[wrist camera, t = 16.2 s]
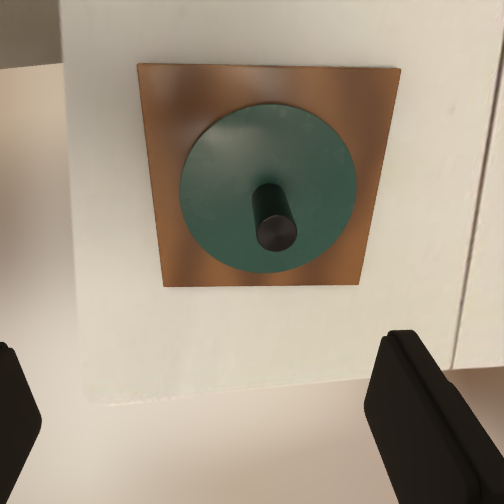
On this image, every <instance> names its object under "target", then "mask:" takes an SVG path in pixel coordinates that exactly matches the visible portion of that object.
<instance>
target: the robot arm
mask: <svg viewBox="0 0 504 504" xmlns="http://www.w3.org/2000/svg"><path fill="white" fill-rule="evenodd" d="M364 412H365V416H366V418H367V421H368V424H369V426H370V429H371V432H372V434H373V437H374V439H375V442H376V444H377V447H378V450H379V452H380V455H381V458H382V460H383V463H384V465H385V468H386V470H387V473H388V476H389V478H390V481H391V484H392V486H393V489H394V491H395V494H396V497H397V499H398V502H399V504H504V458H503V456H502V455H501V453H500V452H499V450H498V449H497V447H496V446H495V444H494V443H493V441H492V440H491V438H490V437H489V435H488V434H487V432H486V431H485V430H484V428H483V427H482V425H481V424H480V422H479V421H478V419H477V418H476V416H475V415H474V413H473V412H472V410H471V409H470V407H469V406H468V404H467V403H466V402H465V400H464V398H463V397H462V395H461V394H460V393H459V391H458V390H457V388H456V387H455V386H454V385H453V384H452V383H451V382H449V381H448V380H447V379H446V377H445V376H444V374H443V373H442V371H441V369H440V368H439V366H438V365H437V363H436V362H435V360H434V359H433V357H432V356H431V354H430V353H429V351H428V350H427V348H426V347H425V345H424V344H423V342H422V341H421V339H420V338H419V336H418V335H417V334H416V332H415V331H413V330H392V331H389V332H388V334H387V336H383V337H382V339H381V342H380V346H379V350H378V353H377V357H376V361H375V364H374V368H373V371H372V375H371V379H370V382H369V386H368V390H367V393H366V397H365V401H364ZM41 423H42V418H41V414H40V412H39V410H38V407H37V405H36V402H35V400H34V397H33V395H32V392H31V390H30V388H29V385H28V383H27V380H26V378H25V375H24V373H23V370H22V368H21V366H20V363H19V361H18V358H17V356H16V353H15V351H14V350H13V349H12V348H8V346H7V344H6V343H4V342H0V504H6V502H7V500H8V498H9V496H10V494H11V491H12V490H13V488H14V485H15V483H16V481H17V479H18V477H19V475H20V472H21V470H22V468H23V466H24V464H25V462H26V459H27V457H28V455H29V453H30V451H31V449H32V447H33V445H34V443H35V440H36V438H37V436H38V434H39V432H40V429H41Z"/></svg>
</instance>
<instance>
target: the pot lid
mask: <svg viewBox="0 0 504 504" xmlns="http://www.w3.org/2000/svg"><path fill="white" fill-rule="evenodd" d="M356 190H357V181H356V172H355V167H354V163H353V160H352V157H351V155H350V153H349V151H348V149H347V147H346V145H345V143H344V142H343V140H342V139H341V138H340V136H339V135H338V134H337V133H336V132H335V131H334V130H333V129H332V127H331V126H329V125H328V124H327V123H326V122H324V121H323V120H322V119H320V118H319V117H317V116H315V115H314V114H312V113H310V112H308V111H306V110H303V109H301V108H298V107H294V106H290V105H286V104H275V103H268V104H257V105H252V106H247V107H244V108H241V109H238V110H235V111H233V112H231V113H229V114H227V115H225V116H223V117H222V118H220V119H219V120H217V121H216V122H214V123H213V124H212V125H211V126H210V127H209V128H207V129H206V130H205V131H204V132H203V133H202V135H201V136H200V137H199V138H198V139H197V141H196V142H195V144H194V145H193V147H192V149H191V150H190V152H189V154H188V156H187V159H186V161H185V163H184V166H183V170H182V173H181V178H180V186H179V199H180V206H181V211H182V214H183V218H184V221H185V223H186V225H187V227H188V229H189V231H190V233H191V234H192V236H193V237H194V239H195V240H196V241H197V243H198V244H199V245H200V246H201V247H202V248H203V249H204V250H205V251H206V252H207V253H208V254H210V255H211V256H212V257H214V258H215V259H216V260H218V261H220V262H222V263H224V264H225V265H228V266H230V267H233V268H235V269H239V270H242V271H246V272H253V273H277V272H282V271H287V270H291V269H294V268H297V267H299V266H302V265H304V264H306V263H308V262H310V261H312V260H314V259H315V258H317V257H318V256H320V255H321V254H322V253H324V252H325V251H326V250H327V249H328V248H329V247H330V246H331V245H332V244H333V243H334V242H335V241H336V240H337V239H338V237H339V236H340V235H341V233H342V232H343V230H344V229H345V227H346V225H347V223H348V221H349V219H350V216H351V214H352V211H353V208H354V204H355V200H356Z"/></svg>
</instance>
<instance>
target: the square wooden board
mask: <svg viewBox="0 0 504 504" xmlns="http://www.w3.org/2000/svg"><path fill="white" fill-rule="evenodd" d="M137 73H138V81H139V89H140V97H141V106H142V114H143V122H144V130H145V139H146V147H147V155H148V163H149V172H150V180H151V188H152V196H153V205H154V213H155V221H156V229H157V237H158V246H159V254H160V262H161V270H162V279H163V286H164V287H207V286H299V285H359V281H360V276H361V271H362V266H363V261H364V256H365V251H366V245H367V240H368V235H369V230H370V225H371V220H372V215H373V210H374V205H375V200H376V195H377V190H378V185H379V180H380V175H381V170H382V165H383V160H384V155H385V150H386V145H387V140H388V135H389V130H390V125H391V120H392V115H393V109H394V104H395V99H396V94H397V89H398V84H399V79H400V74H401V69H398V68H364V67H314V66H264V65H214V64H164V63H138V64H137ZM268 103H275V104H286V105H290V106H294V107H298V108H301V109H303V110H306V111H308V112H310V113H312V114H314V115H315V116H317V117H319V118H320V119H322V120H323V121H324V122H326V123H327V124H328V125H329V126H331V127H332V129H333V130H334V131H335V132H336V133H337V134H338V135H339V136H340V138H341V139H342V140H343V142H344V143H345V145H346V147H347V149H348V151H349V153H350V155H351V157H352V160H353V163H354V167H355V172H356V181H357V190H356V200H355V204H354V208H353V211H352V214H351V216H350V219H349V221H348V223H347V225H346V227H345V229H344V230H343V232H342V233H341V235H340V236H339V237H338V239H337V240H336V241H335V242H334V243H333V244H332V245H331V246H330V247H329V248H328V249H327V250H326V251H325V252H324V253H322V254H321V255H320V256H318V257H317V258H315V259H314V260H312V261H310V262H308V263H306V264H304V265H302V266H299V267H297V268H294V269H291V270H287V271H282V272H277V273H253V272H246V271H242V270H239V269H235V268H233V267H230V266H228V265H225V264H224V263H222V262H220V261H218V260H216V259H215V258H214V257H212V256H211V255H210V254H208V253H207V252H206V251H205V250H204V249H203V248H202V247H201V246H200V245H199V244H198V243H197V241H196V240H195V239H194V237H193V236H192V234H191V233H190V231H189V229H188V227H187V225H186V223H185V221H184V218H183V214H182V211H181V206H180V199H179V186H180V178H181V173H182V170H183V166H184V163H185V161H186V159H187V156H188V154H189V152H190V150H191V149H192V147H193V145H194V144H195V142H196V141H197V139H198V138H199V137H200V136H201V135H202V133H203V132H204V131H205V130H206V129H207V128H209V127H210V126H211V125H212V124H213V123H214V122H216V121H217V120H219V119H220V118H222V117H223V116H225V115H227V114H229V113H231V112H233V111H235V110H238V109H241V108H244V107H247V106H252V105H257V104H268Z"/></svg>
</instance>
